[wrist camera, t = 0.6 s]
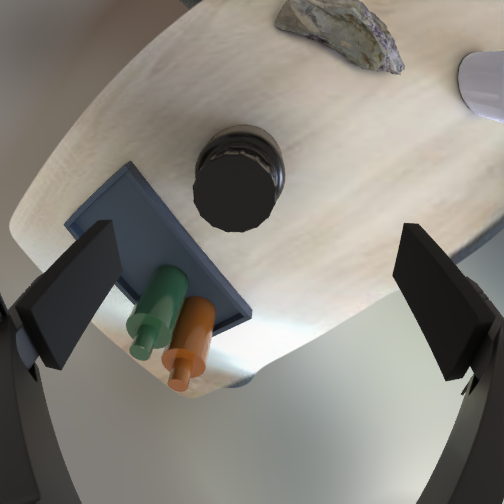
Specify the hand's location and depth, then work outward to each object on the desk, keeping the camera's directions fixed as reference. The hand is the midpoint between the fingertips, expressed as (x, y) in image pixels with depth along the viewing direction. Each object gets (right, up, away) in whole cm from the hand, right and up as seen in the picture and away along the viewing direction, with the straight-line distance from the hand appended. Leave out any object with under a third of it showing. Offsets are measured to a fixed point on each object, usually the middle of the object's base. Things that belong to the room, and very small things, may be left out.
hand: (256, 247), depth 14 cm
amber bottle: (-8, -9, +33) cm, 35 cm away
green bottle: (-12, -4, +30) cm, 33 cm away
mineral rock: (+9, +24, +15) cm, 29 cm away
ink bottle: (-1, +10, +22) cm, 25 cm away
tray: (-13, -2, +30) cm, 32 cm away
